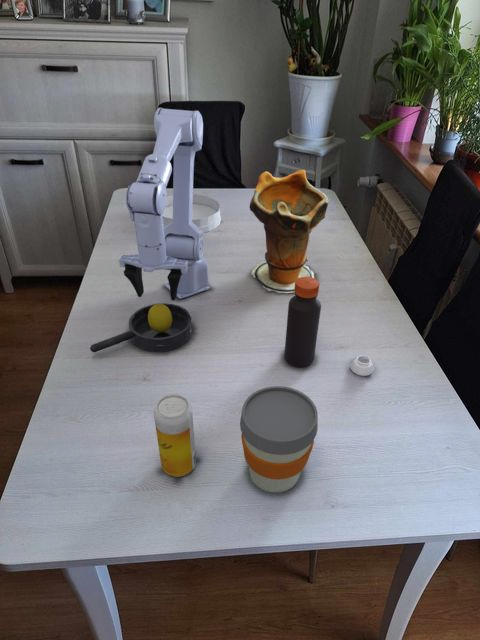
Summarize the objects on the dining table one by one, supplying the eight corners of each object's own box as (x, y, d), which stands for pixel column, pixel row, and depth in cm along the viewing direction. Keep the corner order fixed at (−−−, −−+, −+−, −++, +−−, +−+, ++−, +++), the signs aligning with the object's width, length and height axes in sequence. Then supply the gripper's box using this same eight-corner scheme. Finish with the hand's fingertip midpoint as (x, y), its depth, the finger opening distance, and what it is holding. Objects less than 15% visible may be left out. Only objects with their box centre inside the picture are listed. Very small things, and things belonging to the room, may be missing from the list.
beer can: (162, 452, 88) (154, 393, 79) (196, 451, 89) (192, 392, 80) (160, 480, 84) (151, 420, 74) (195, 478, 84) (191, 419, 75)
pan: (173, 309, 124) (172, 296, 121) (203, 337, 115) (203, 324, 113) (120, 328, 117) (118, 315, 114) (148, 360, 108) (146, 347, 106)
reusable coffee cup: (306, 443, 91) (314, 385, 82) (313, 501, 82) (324, 443, 72) (239, 443, 91) (240, 384, 81) (239, 502, 81) (240, 443, 72)
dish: (217, 236, 157) (217, 221, 154) (149, 233, 156) (147, 218, 153) (223, 208, 174) (222, 195, 171) (161, 206, 174) (159, 192, 170)
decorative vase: (268, 307, 126) (274, 203, 109) (235, 265, 142) (236, 169, 125) (337, 292, 133) (353, 192, 116) (298, 254, 149) (307, 161, 132)
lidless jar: (364, 360, 111) (346, 365, 109) (367, 350, 109) (348, 355, 108) (377, 373, 108) (357, 379, 106) (379, 363, 106) (360, 369, 104)
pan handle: (132, 334, 112) (131, 328, 111) (135, 338, 111) (134, 332, 110) (89, 350, 107) (88, 344, 106) (92, 355, 106) (91, 348, 105)
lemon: (168, 340, 113) (165, 312, 108) (146, 337, 114) (142, 309, 109) (176, 327, 117) (174, 299, 112) (154, 323, 118) (151, 296, 113)
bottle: (297, 345, 114) (305, 270, 102) (319, 359, 111) (331, 283, 98) (277, 357, 111) (283, 281, 98) (299, 372, 107) (308, 295, 94)
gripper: (110, 246, 98) (119, 302, 107) (180, 253, 97) (184, 309, 106) (122, 231, 104) (130, 286, 112) (188, 237, 103) (192, 292, 111)
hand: (157, 296), depth 109 cm, fingers open, 7 cm apart
